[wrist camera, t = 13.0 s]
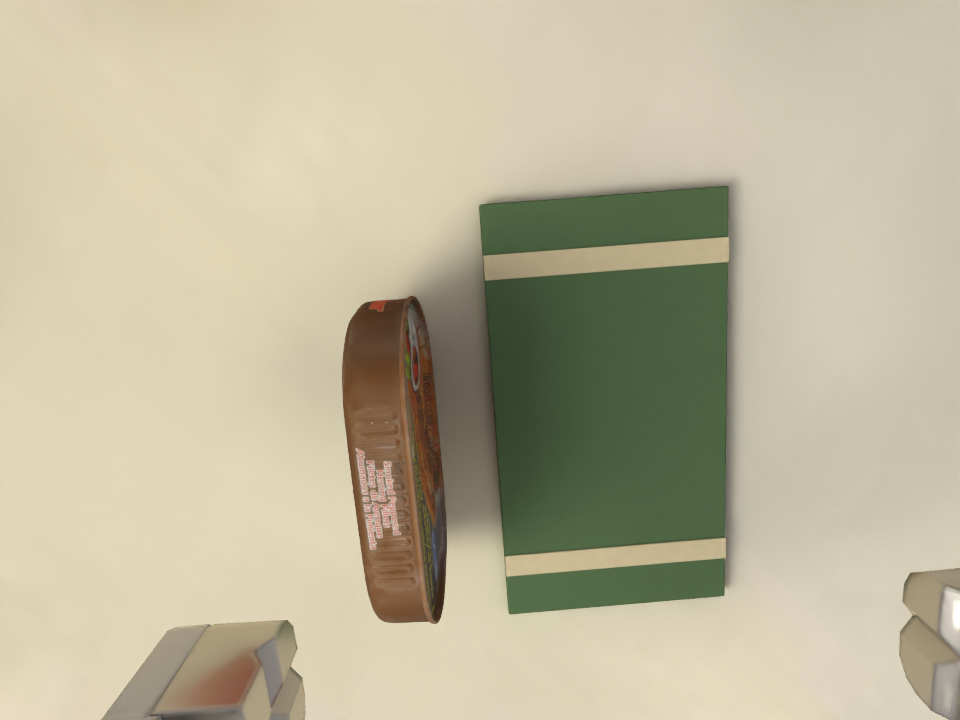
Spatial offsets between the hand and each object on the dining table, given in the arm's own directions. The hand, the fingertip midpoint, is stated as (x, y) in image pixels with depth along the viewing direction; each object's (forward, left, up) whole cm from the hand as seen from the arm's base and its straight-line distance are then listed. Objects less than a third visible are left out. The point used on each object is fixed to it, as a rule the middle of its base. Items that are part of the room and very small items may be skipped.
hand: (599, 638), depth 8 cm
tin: (+5, +5, -24) cm, 25 cm away
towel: (-6, +5, -24) cm, 25 cm away
